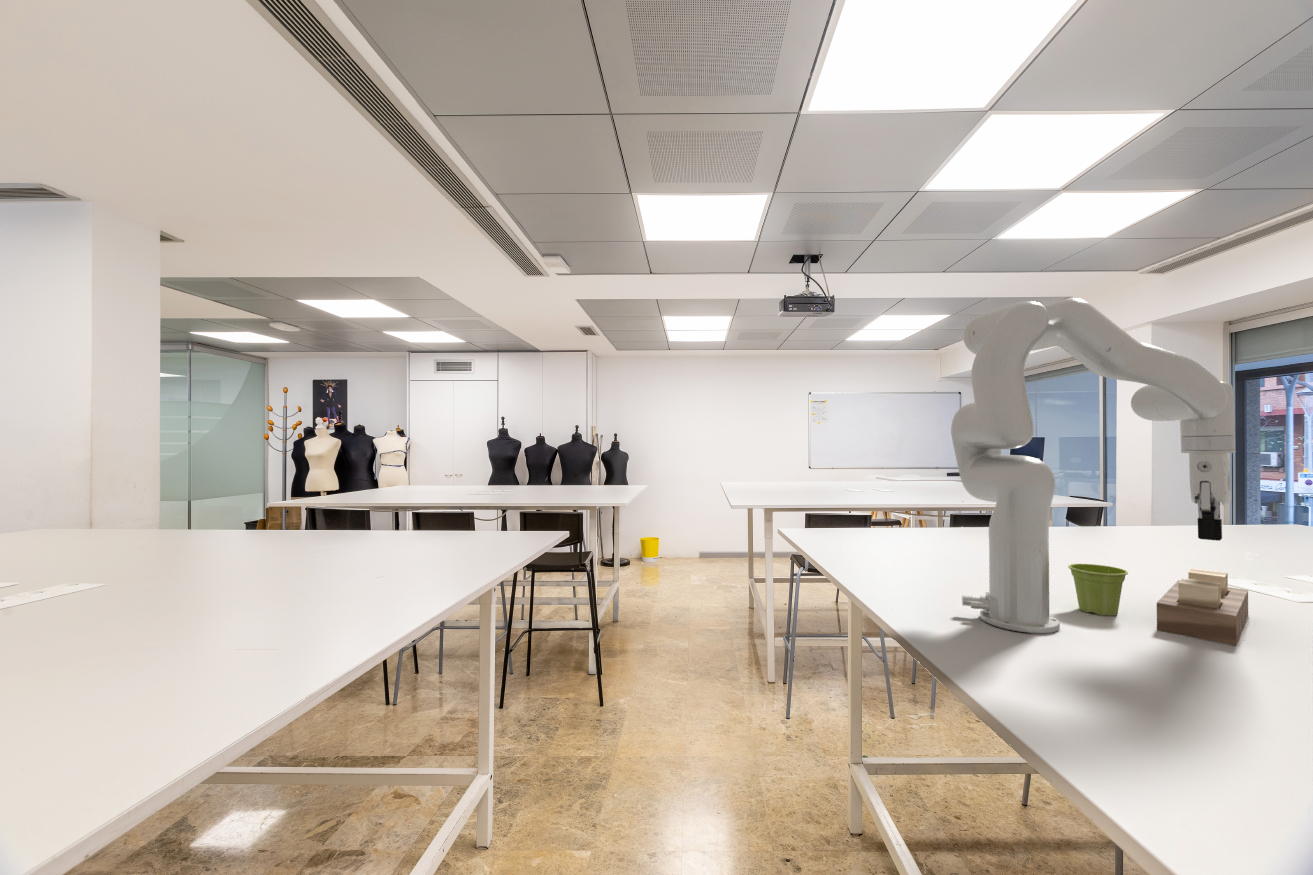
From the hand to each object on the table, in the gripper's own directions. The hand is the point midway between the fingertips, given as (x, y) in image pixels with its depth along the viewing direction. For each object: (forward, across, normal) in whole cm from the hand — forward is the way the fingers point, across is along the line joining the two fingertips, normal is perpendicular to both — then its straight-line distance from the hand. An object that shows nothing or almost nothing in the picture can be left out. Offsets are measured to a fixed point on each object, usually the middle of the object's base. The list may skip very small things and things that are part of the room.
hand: (1210, 539), depth 109 cm
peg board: (+15, -7, 0) cm, 16 cm away
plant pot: (+15, -13, +15) cm, 25 cm away
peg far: (+12, -1, 0) cm, 12 cm away
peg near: (+11, -13, 0) cm, 17 cm away
